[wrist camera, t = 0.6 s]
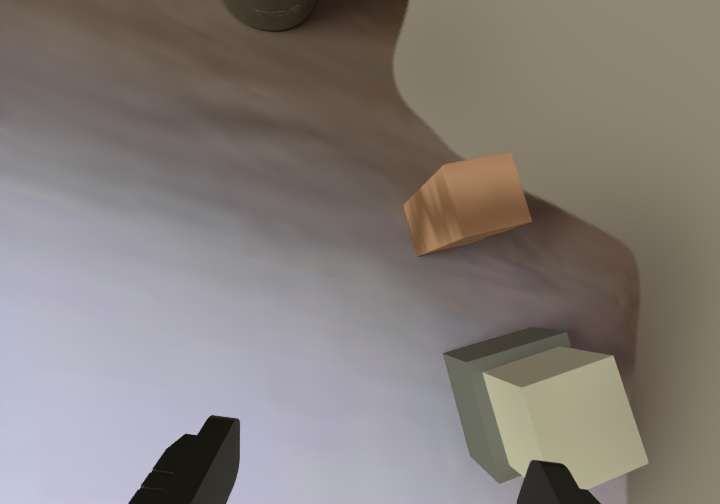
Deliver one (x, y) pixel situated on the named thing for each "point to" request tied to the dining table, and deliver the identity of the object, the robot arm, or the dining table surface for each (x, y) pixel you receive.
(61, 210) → the dining table surface
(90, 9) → the dining table surface
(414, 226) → the wooden block
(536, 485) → the robot arm
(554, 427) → the tower top
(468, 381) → the tower base
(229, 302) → the dining table surface
